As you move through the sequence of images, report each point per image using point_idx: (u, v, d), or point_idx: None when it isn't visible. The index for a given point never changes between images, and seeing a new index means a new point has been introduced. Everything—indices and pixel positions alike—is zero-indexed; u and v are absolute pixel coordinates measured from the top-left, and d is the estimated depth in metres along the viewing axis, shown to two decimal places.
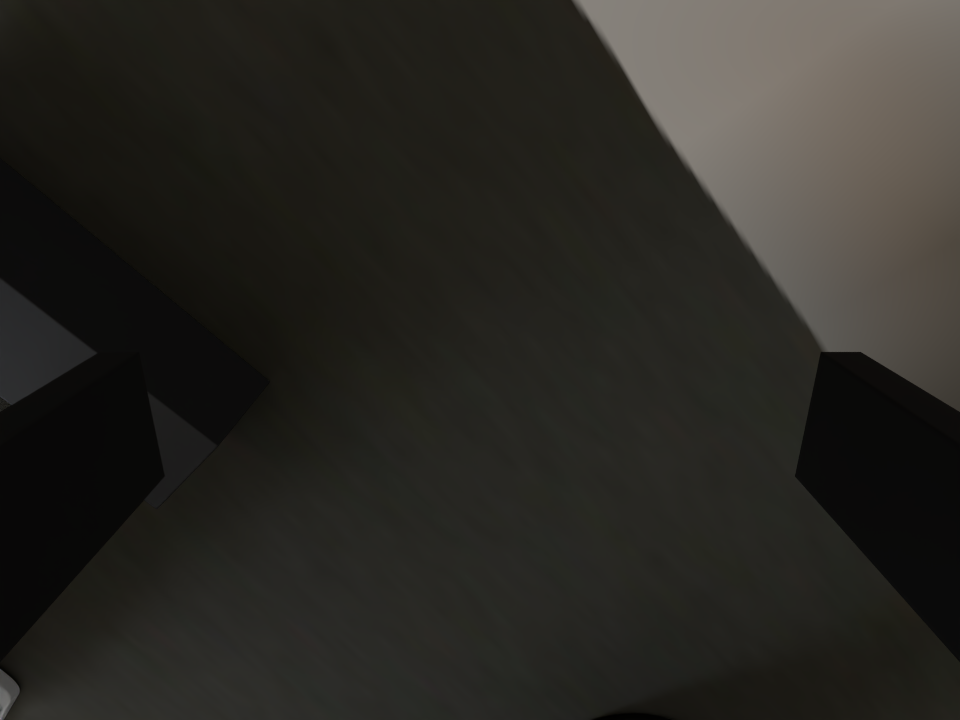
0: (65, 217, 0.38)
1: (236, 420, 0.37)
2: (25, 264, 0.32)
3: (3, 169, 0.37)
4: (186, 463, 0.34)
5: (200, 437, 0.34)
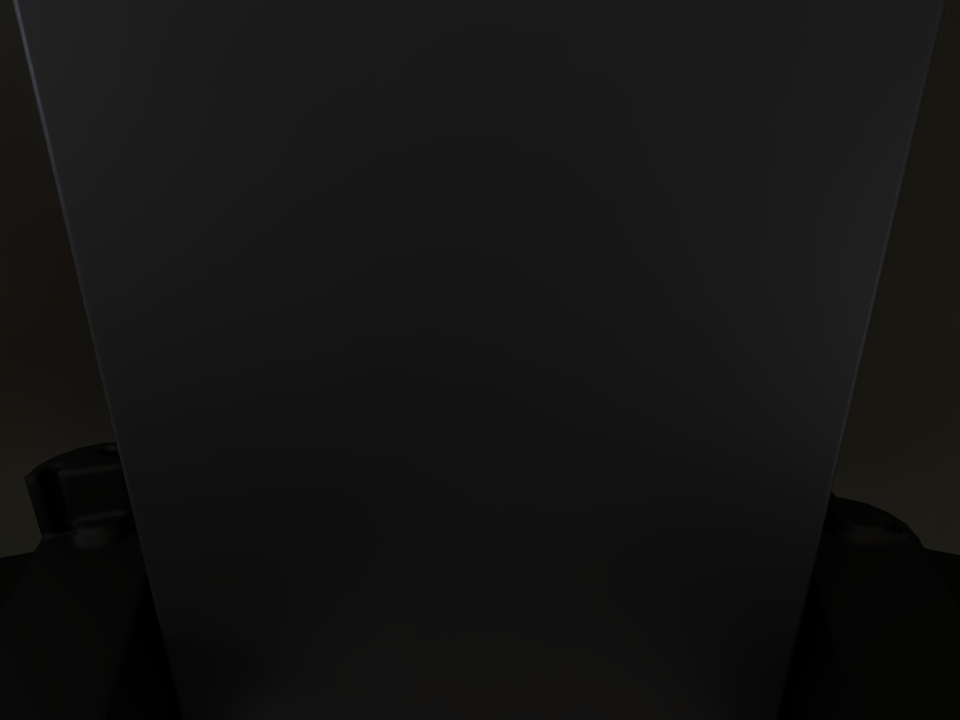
0: None
1: None
2: None
3: None
4: None
5: None
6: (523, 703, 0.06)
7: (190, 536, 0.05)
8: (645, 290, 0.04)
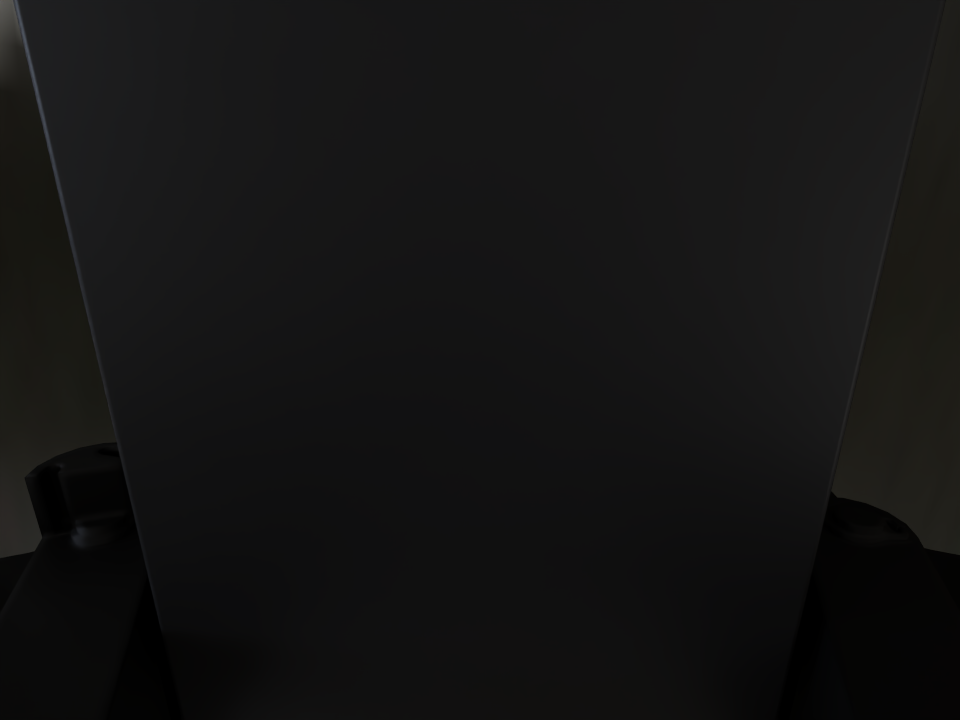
0: None
1: None
2: None
3: None
4: None
5: None
6: (524, 702, 0.06)
7: (190, 534, 0.05)
8: (646, 288, 0.04)
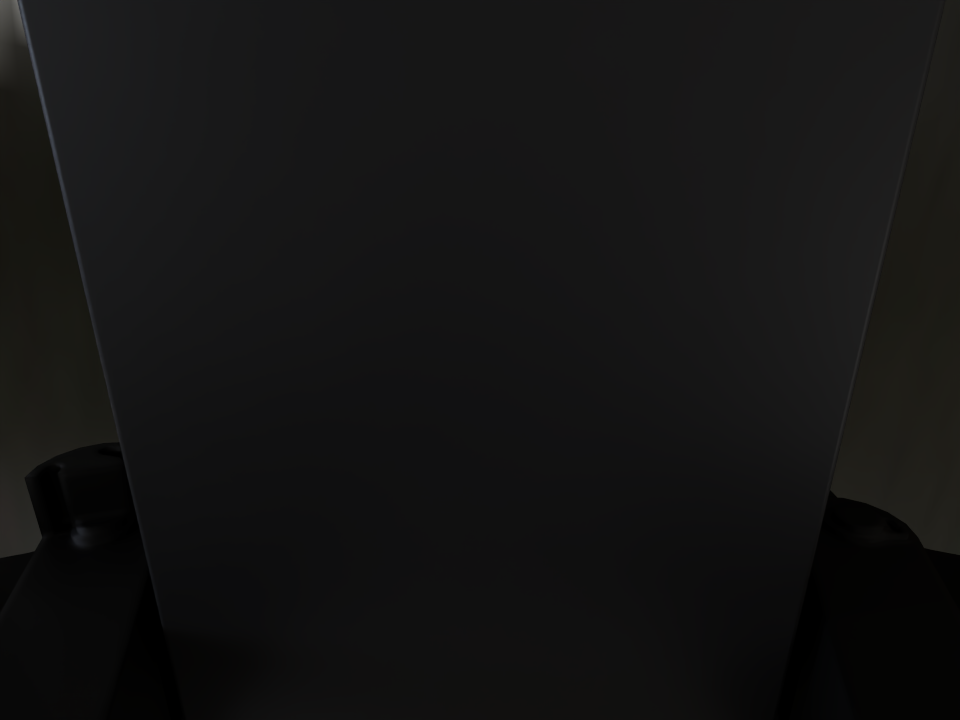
0: None
1: None
2: None
3: None
4: None
5: None
6: (524, 698, 0.06)
7: (192, 531, 0.05)
8: (647, 286, 0.04)
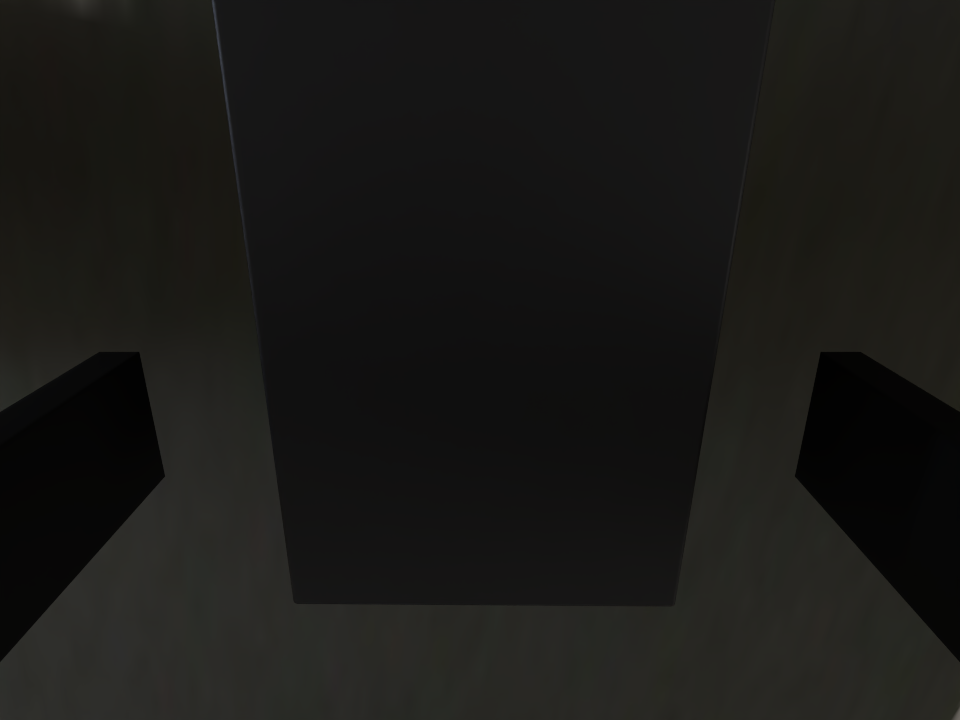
0: None
1: None
2: None
3: None
4: (539, 576, 0.09)
5: (669, 556, 0.09)
6: (520, 377, 0.08)
7: (280, 224, 0.07)
8: (608, 22, 0.06)
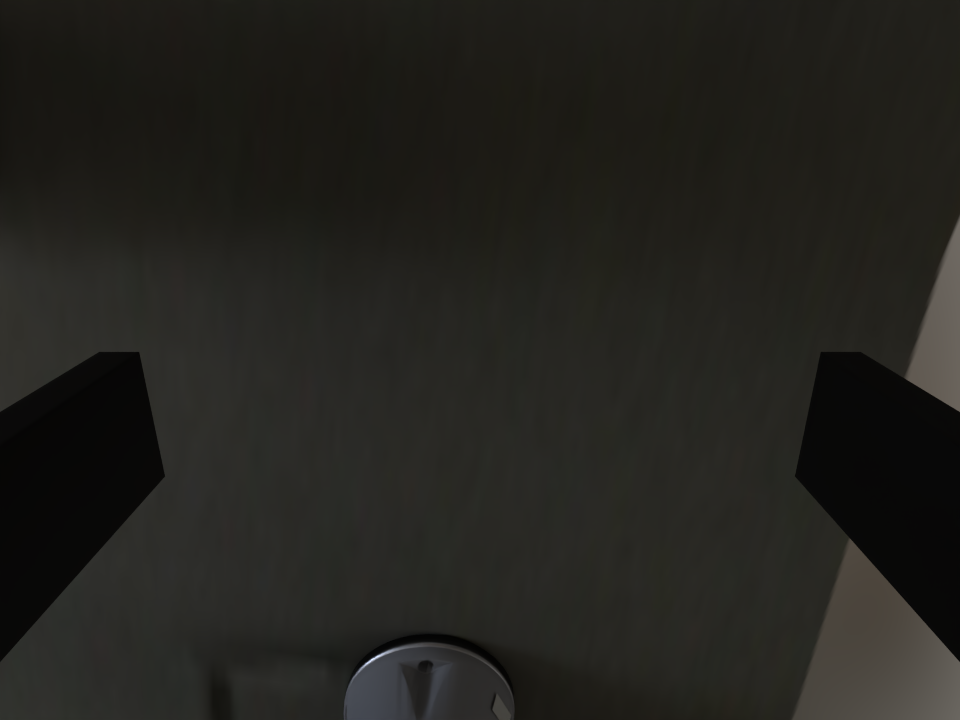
0: None
1: None
2: None
3: None
4: None
5: None
6: None
7: None
8: None
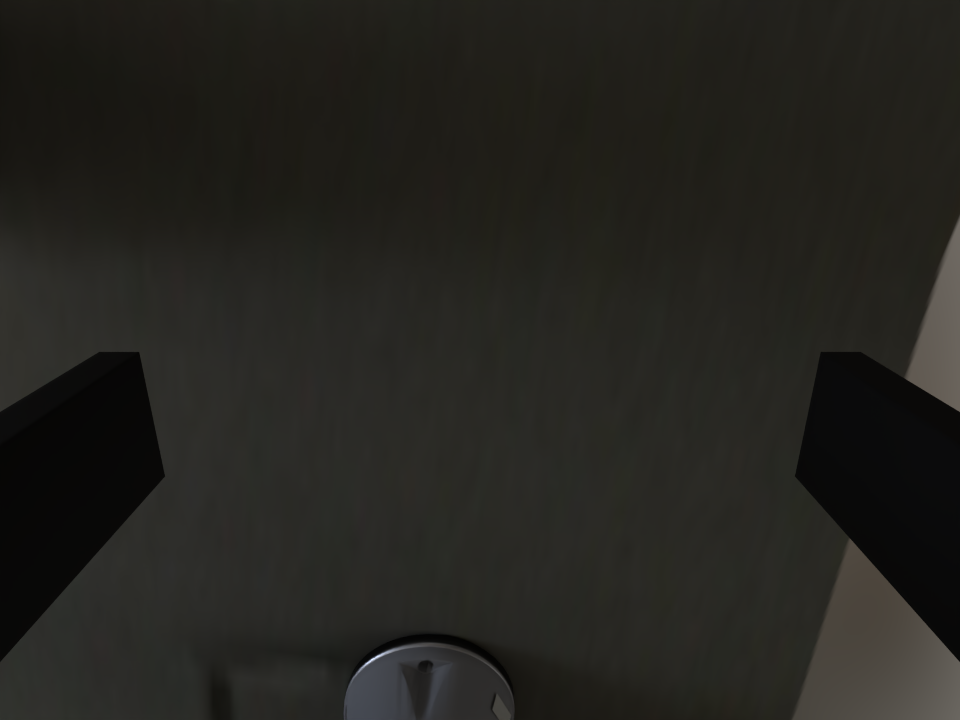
0: None
1: None
2: None
3: None
4: None
5: None
6: None
7: None
8: None
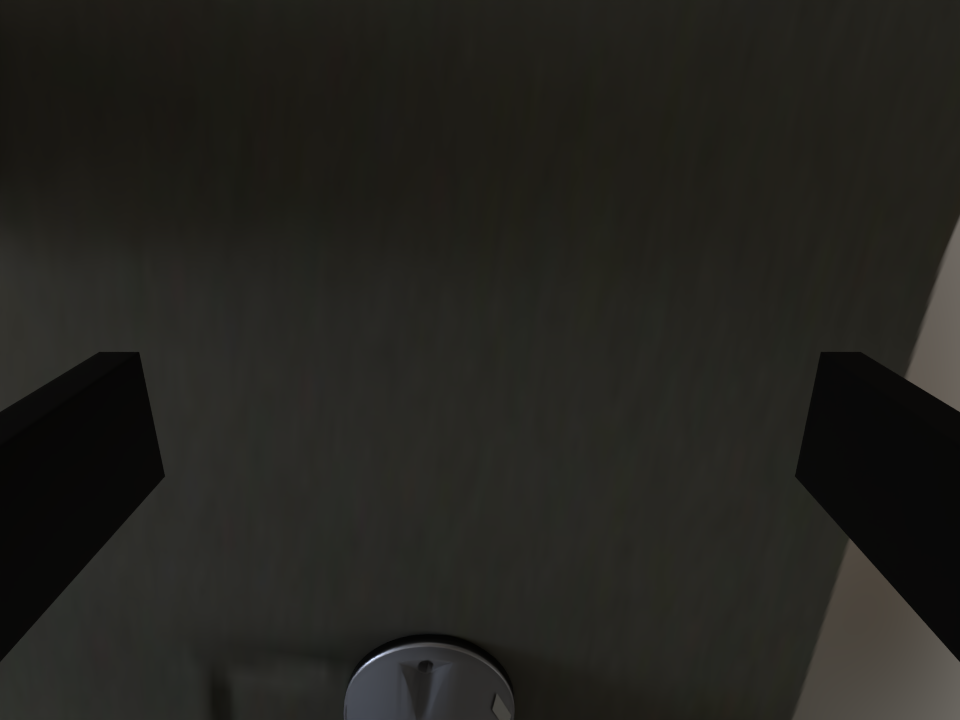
0: None
1: None
2: None
3: None
4: None
5: None
6: None
7: None
8: None
